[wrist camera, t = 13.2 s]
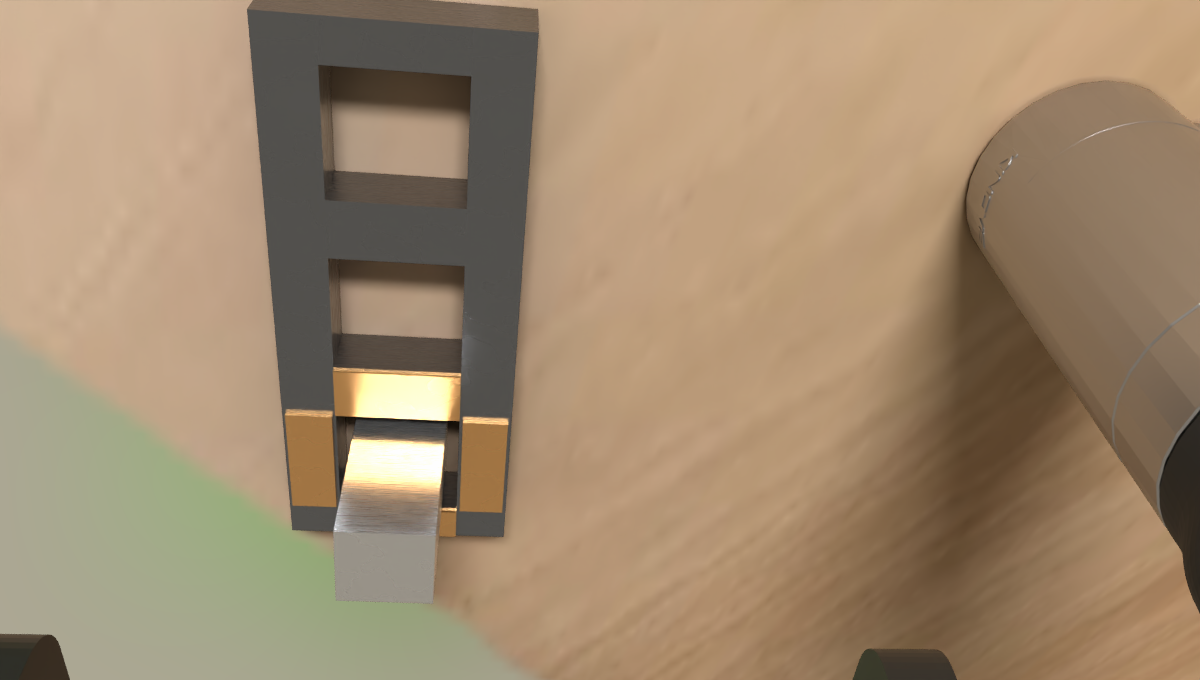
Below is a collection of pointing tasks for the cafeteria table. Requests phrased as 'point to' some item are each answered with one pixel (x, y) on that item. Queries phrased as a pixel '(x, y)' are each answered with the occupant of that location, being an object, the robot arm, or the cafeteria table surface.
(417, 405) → the slotted rack
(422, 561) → the steel block
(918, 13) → the cafeteria table surface
